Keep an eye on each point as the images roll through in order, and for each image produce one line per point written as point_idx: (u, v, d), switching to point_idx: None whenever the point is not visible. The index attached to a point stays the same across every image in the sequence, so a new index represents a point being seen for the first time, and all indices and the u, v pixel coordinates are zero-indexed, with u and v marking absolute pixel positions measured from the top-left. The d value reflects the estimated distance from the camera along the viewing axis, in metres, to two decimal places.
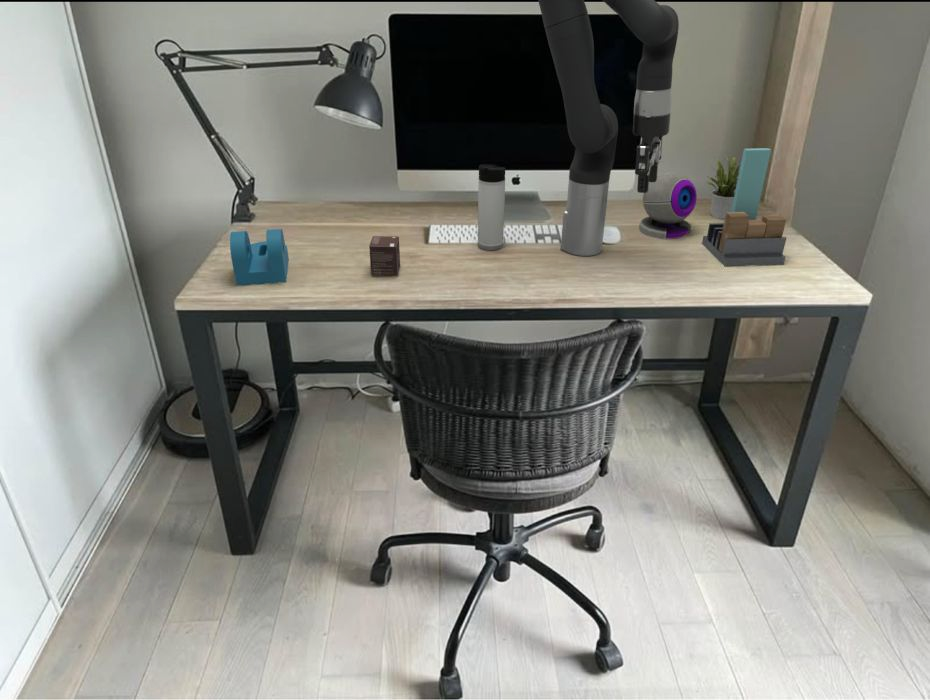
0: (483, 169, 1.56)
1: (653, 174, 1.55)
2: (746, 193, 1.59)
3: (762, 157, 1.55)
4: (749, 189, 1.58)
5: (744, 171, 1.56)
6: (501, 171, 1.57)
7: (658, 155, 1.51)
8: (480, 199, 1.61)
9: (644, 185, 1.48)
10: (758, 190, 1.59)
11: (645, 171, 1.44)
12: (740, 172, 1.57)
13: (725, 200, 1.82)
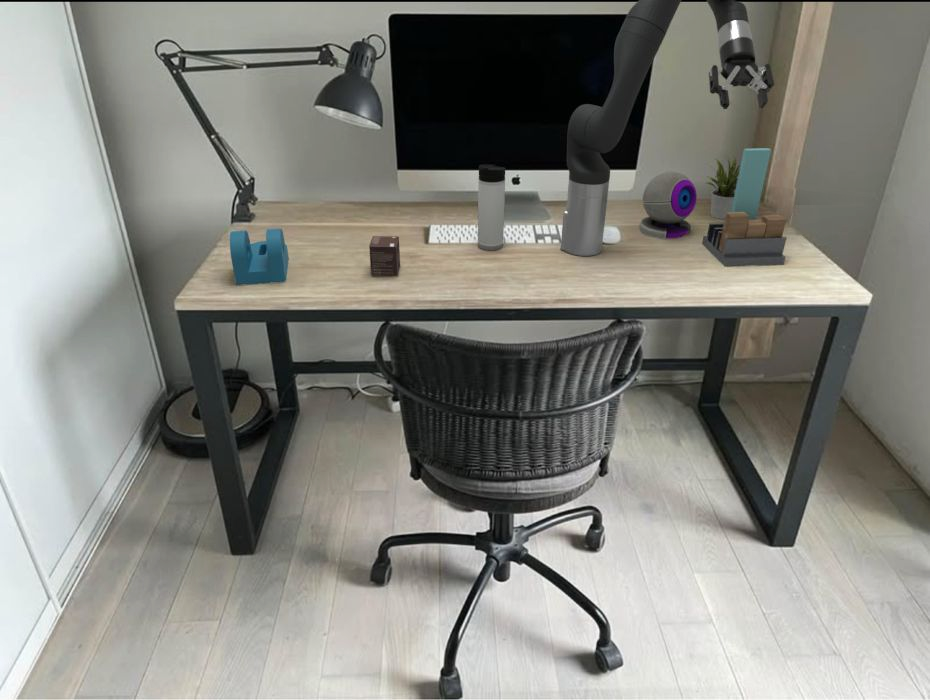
0: (483, 169, 1.56)
1: None
2: (746, 193, 1.59)
3: (762, 157, 1.55)
4: (749, 189, 1.58)
5: (744, 171, 1.56)
6: (501, 171, 1.57)
7: None
8: (480, 199, 1.61)
9: None
10: (758, 190, 1.59)
11: None
12: (740, 172, 1.57)
13: (725, 200, 1.82)
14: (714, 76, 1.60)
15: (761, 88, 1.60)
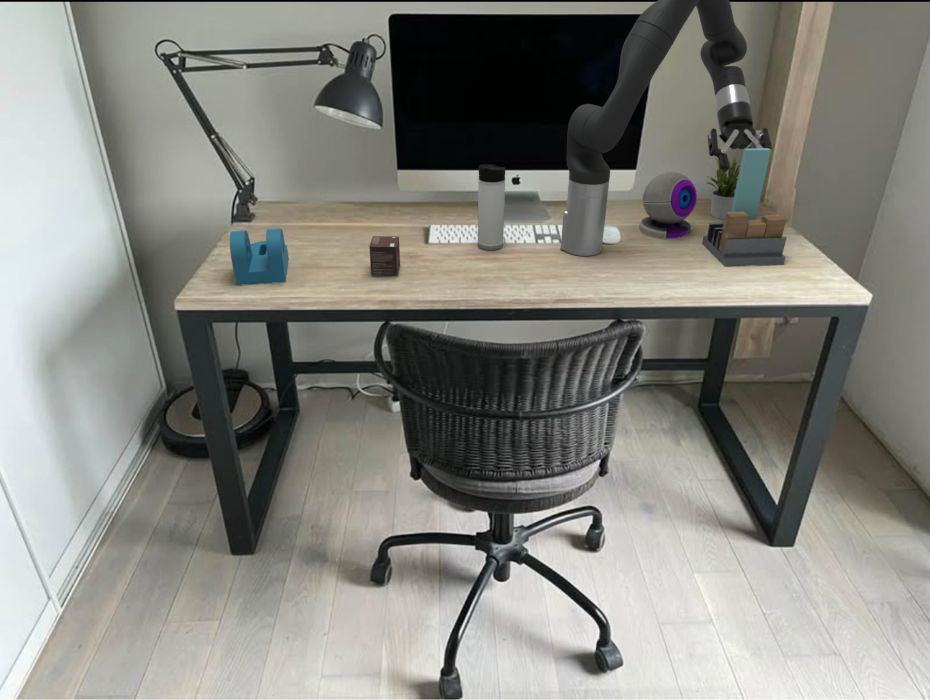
0: (483, 169, 1.56)
1: None
2: (746, 193, 1.59)
3: (762, 157, 1.55)
4: (749, 189, 1.58)
5: (744, 171, 1.56)
6: (501, 171, 1.57)
7: None
8: (480, 199, 1.61)
9: None
10: (758, 190, 1.59)
11: None
12: (740, 172, 1.57)
13: (725, 200, 1.82)
14: (713, 139, 1.62)
15: None
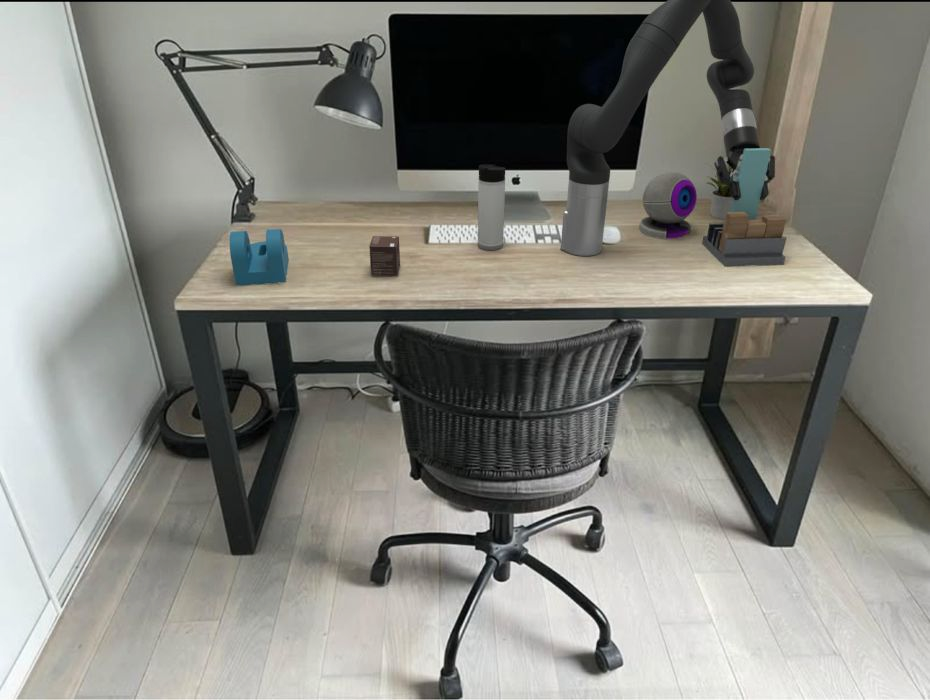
0: (483, 169, 1.56)
1: None
2: (746, 193, 1.59)
3: (762, 157, 1.55)
4: (749, 189, 1.58)
5: (743, 171, 1.56)
6: (501, 171, 1.57)
7: None
8: (480, 199, 1.61)
9: None
10: (758, 190, 1.59)
11: None
12: (740, 172, 1.57)
13: (725, 200, 1.82)
14: (723, 168, 1.59)
15: None
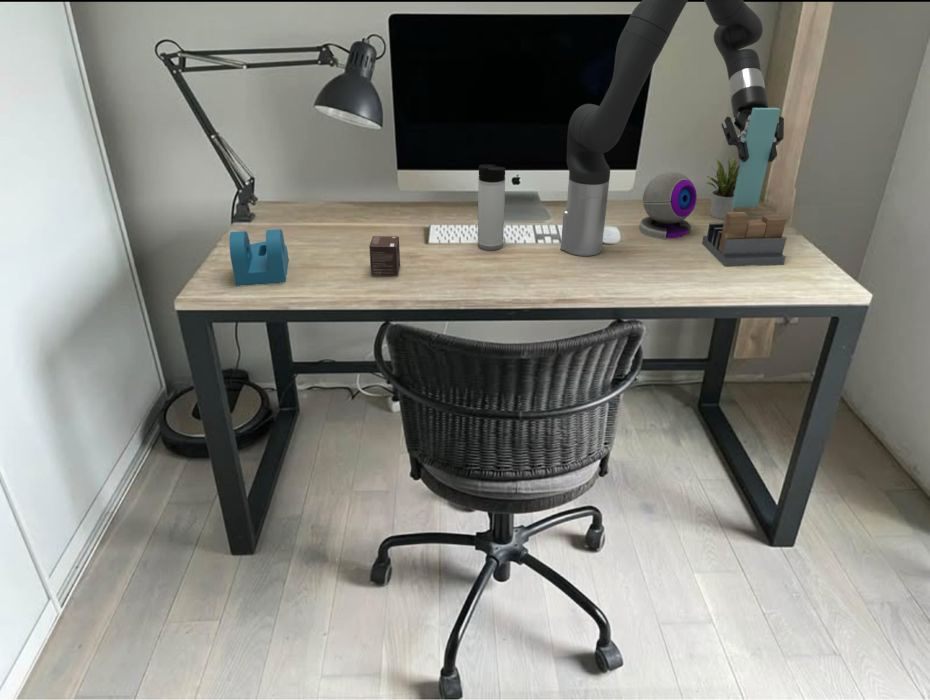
0: (483, 169, 1.56)
1: None
2: (754, 155, 1.54)
3: (771, 117, 1.50)
4: (757, 150, 1.54)
5: (752, 131, 1.52)
6: (501, 171, 1.57)
7: None
8: (480, 199, 1.61)
9: None
10: (766, 152, 1.54)
11: None
12: (748, 133, 1.53)
13: (725, 200, 1.82)
14: (730, 128, 1.54)
15: None
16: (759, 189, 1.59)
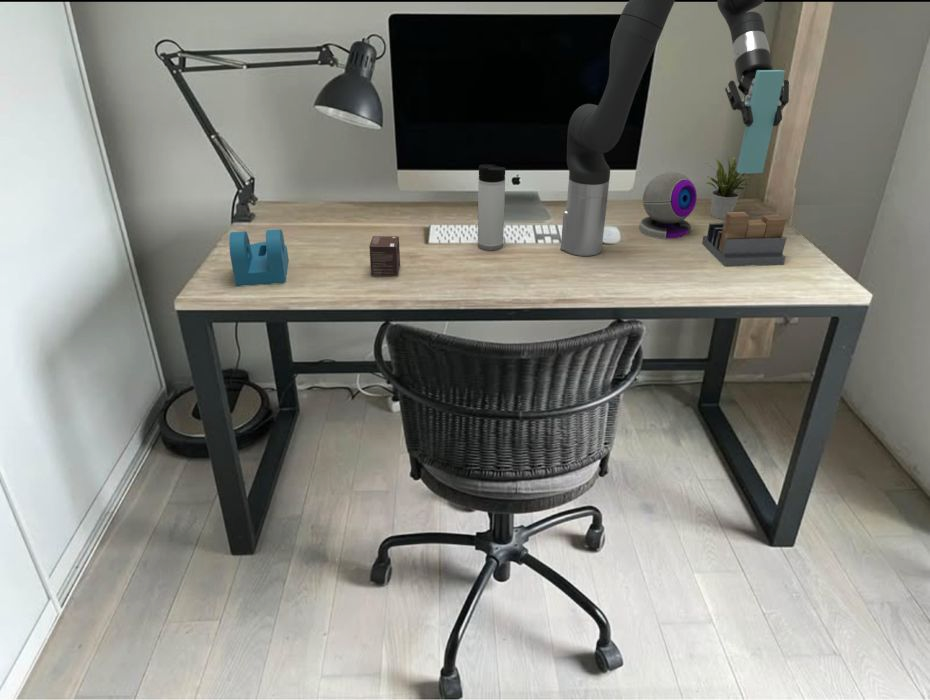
0: (483, 169, 1.56)
1: None
2: (758, 119, 1.52)
3: (776, 79, 1.48)
4: (761, 114, 1.51)
5: (756, 94, 1.49)
6: (501, 171, 1.57)
7: None
8: (480, 199, 1.61)
9: None
10: (771, 116, 1.52)
11: None
12: (752, 96, 1.50)
13: (725, 200, 1.82)
14: (734, 92, 1.52)
15: None
16: (764, 154, 1.56)
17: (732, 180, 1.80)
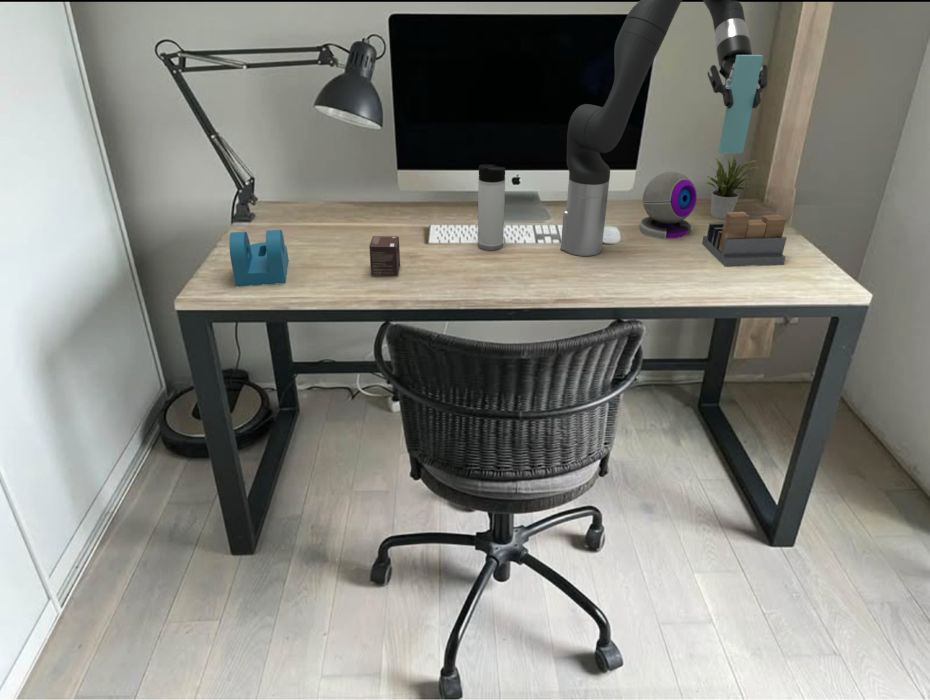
0: (483, 169, 1.56)
1: None
2: (738, 101, 1.61)
3: (754, 63, 1.57)
4: (741, 97, 1.60)
5: (736, 78, 1.58)
6: (501, 171, 1.57)
7: None
8: (480, 199, 1.61)
9: None
10: (750, 98, 1.61)
11: None
12: (732, 79, 1.59)
13: (725, 200, 1.82)
14: (716, 76, 1.61)
15: None
16: (744, 135, 1.65)
17: (732, 180, 1.80)
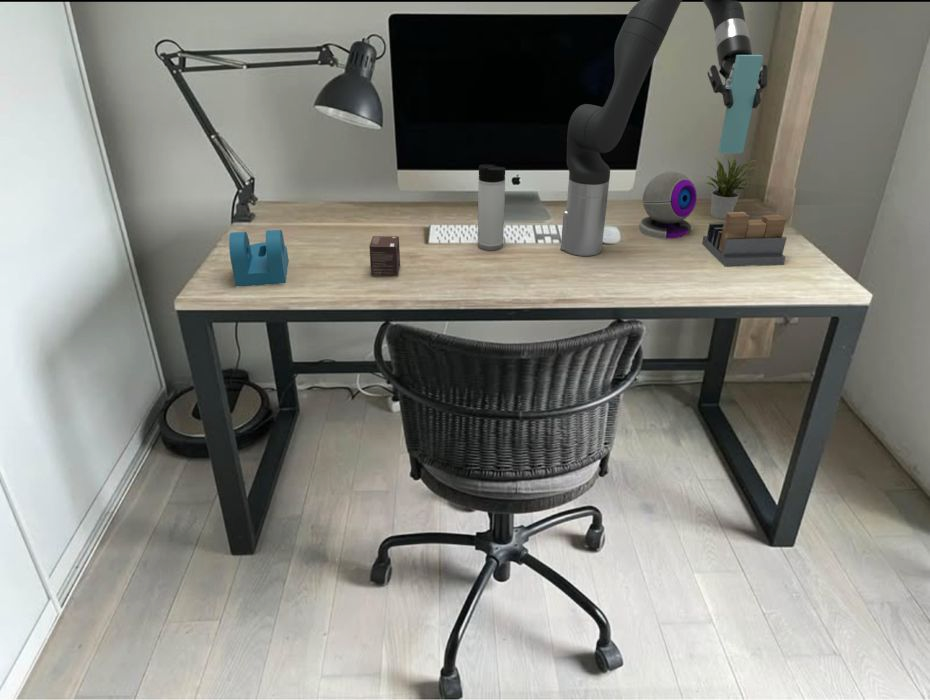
0: (483, 169, 1.56)
1: None
2: (738, 101, 1.61)
3: (754, 63, 1.57)
4: (741, 97, 1.60)
5: (736, 78, 1.58)
6: (501, 171, 1.57)
7: None
8: (480, 199, 1.61)
9: None
10: (750, 98, 1.61)
11: None
12: (732, 79, 1.59)
13: (725, 200, 1.82)
14: (716, 76, 1.61)
15: None
16: (744, 135, 1.65)
17: (732, 180, 1.80)
